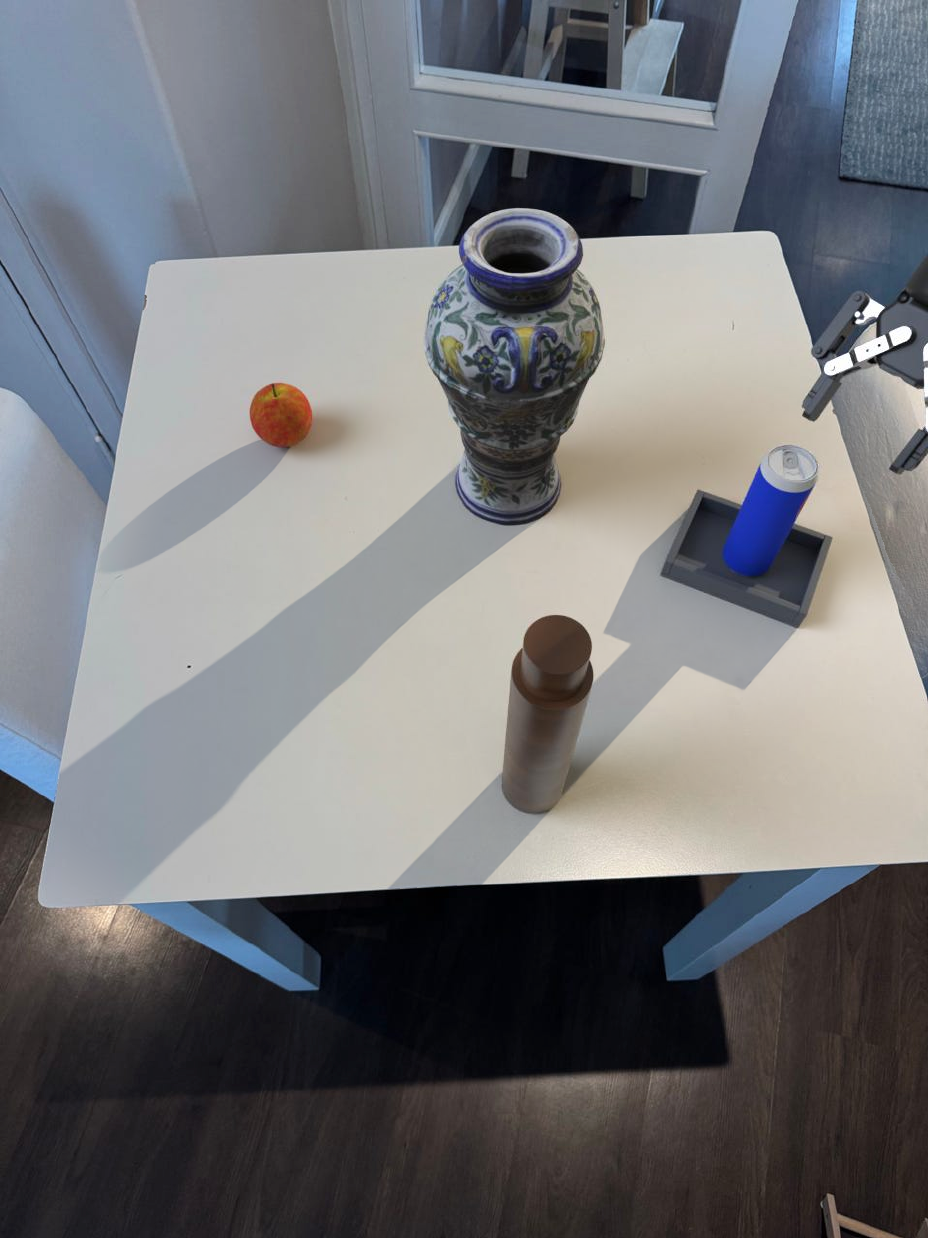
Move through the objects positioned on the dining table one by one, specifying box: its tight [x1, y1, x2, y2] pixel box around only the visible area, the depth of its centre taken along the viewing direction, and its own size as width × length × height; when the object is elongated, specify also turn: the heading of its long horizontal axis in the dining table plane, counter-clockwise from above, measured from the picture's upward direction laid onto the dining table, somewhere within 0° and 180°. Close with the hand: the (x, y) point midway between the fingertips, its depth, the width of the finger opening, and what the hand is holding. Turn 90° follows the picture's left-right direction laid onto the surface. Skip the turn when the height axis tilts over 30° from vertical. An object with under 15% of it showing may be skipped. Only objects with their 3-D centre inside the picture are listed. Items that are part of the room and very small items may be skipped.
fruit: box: [249, 382, 313, 448], centre depth 94 cm, size 7×7×8 cm
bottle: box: [501, 614, 594, 815], centre depth 65 cm, size 6×6×26 cm
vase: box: [423, 207, 606, 526], centre depth 81 cm, size 17×17×30 cm
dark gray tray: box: [660, 488, 834, 629], centre depth 87 cm, size 15×11×3 cm
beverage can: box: [722, 443, 820, 577], centre depth 81 cm, size 5×5×15 cm
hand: (850, 444), depth 70 cm, fingers open, 8 cm apart
